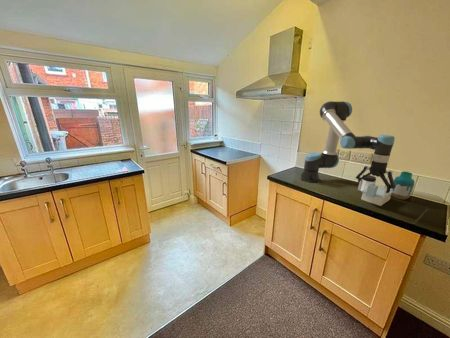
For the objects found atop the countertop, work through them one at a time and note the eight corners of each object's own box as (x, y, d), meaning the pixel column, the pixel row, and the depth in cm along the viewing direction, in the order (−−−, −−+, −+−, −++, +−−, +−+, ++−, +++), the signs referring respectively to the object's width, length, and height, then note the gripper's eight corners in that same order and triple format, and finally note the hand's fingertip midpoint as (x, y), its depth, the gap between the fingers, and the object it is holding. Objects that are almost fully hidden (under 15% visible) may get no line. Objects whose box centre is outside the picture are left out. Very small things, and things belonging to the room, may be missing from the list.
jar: (369, 194, 137) (373, 179, 134) (356, 190, 144) (360, 176, 140) (374, 192, 142) (378, 177, 138) (362, 188, 149) (365, 174, 145)
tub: (360, 200, 129) (363, 191, 127) (370, 194, 138) (372, 186, 136) (380, 207, 120) (382, 197, 118) (389, 200, 129) (392, 192, 127)
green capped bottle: (412, 203, 126) (421, 176, 120) (392, 200, 130) (401, 174, 124) (404, 196, 136) (412, 171, 130) (386, 194, 139) (393, 169, 133)
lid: (358, 194, 125) (361, 183, 122) (372, 187, 136) (374, 177, 134) (380, 201, 115) (383, 189, 113) (392, 193, 127) (396, 182, 125)
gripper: (354, 157, 122) (347, 187, 128) (405, 167, 102) (393, 202, 108) (359, 156, 126) (352, 185, 132) (409, 165, 106) (398, 199, 112)
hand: (371, 193), depth 120 cm, fingers open, 13 cm apart
